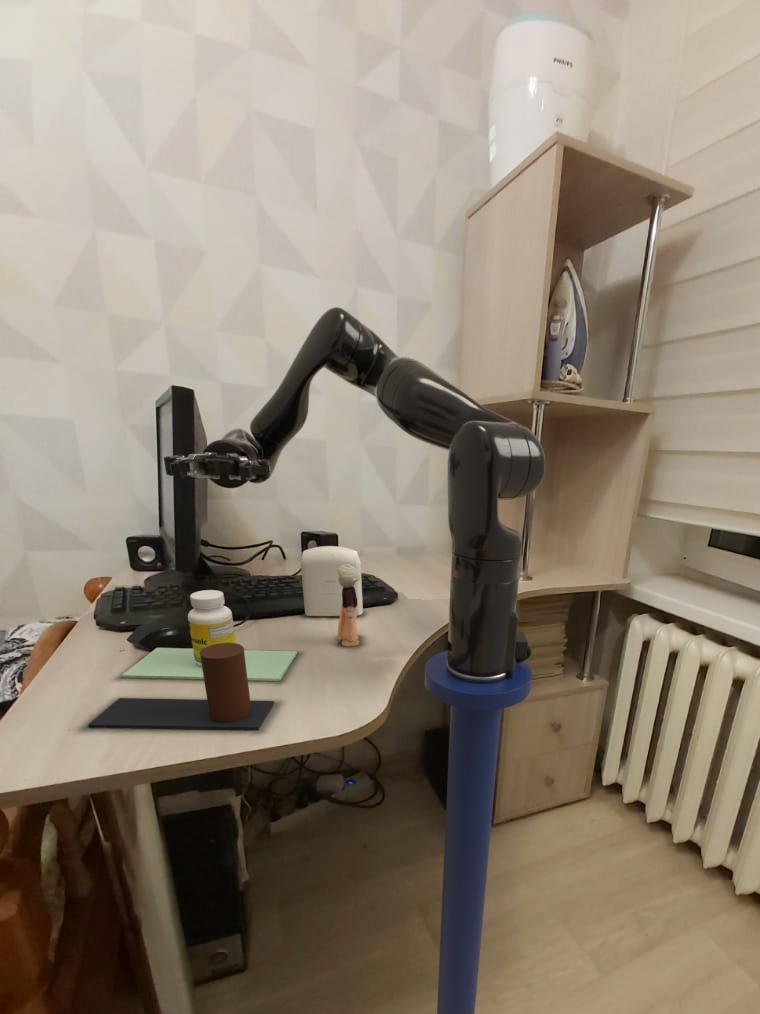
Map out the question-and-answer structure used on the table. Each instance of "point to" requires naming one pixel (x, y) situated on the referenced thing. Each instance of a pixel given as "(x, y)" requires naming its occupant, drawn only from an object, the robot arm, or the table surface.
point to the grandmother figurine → (348, 605)
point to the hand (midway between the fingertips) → (210, 471)
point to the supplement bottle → (209, 621)
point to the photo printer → (327, 579)
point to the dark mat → (174, 715)
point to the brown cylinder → (226, 682)
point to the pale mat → (185, 667)
